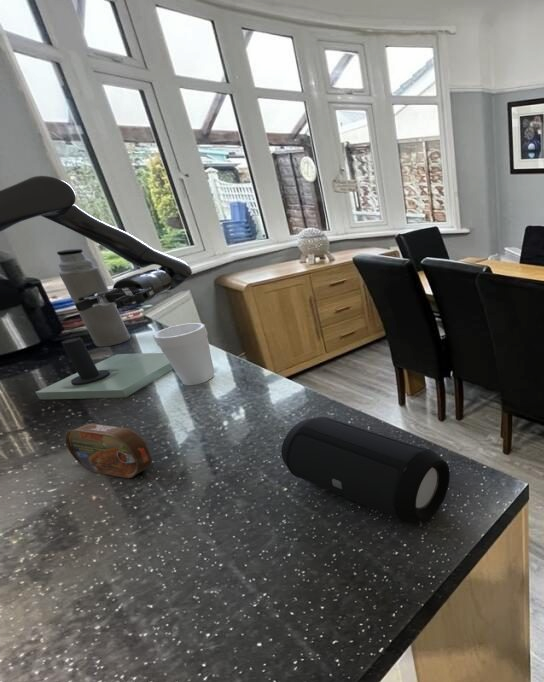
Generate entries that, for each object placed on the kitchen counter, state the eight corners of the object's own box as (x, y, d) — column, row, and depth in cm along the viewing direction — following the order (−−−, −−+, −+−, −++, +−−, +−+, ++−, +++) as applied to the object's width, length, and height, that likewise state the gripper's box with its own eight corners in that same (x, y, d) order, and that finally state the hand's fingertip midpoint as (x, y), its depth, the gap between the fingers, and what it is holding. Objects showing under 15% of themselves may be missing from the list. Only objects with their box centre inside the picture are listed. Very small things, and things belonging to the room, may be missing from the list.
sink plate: (39, 399, 89) (35, 392, 89) (119, 360, 108) (116, 354, 107) (125, 397, 89) (122, 389, 88) (191, 358, 108) (189, 351, 107)
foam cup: (167, 391, 91) (144, 340, 86) (185, 373, 99) (165, 325, 94) (214, 384, 93) (194, 334, 88) (227, 367, 102) (210, 320, 96)
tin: (77, 469, 67) (52, 428, 64) (99, 457, 70) (76, 417, 67) (143, 482, 64) (121, 440, 60) (163, 469, 67) (143, 428, 63)
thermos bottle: (97, 341, 121) (51, 250, 110) (131, 334, 126) (90, 246, 115) (94, 349, 116) (45, 254, 104) (129, 341, 120) (86, 249, 109)
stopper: (67, 392, 92) (41, 346, 87) (95, 379, 98) (71, 335, 93) (95, 392, 92) (70, 345, 87) (121, 378, 98) (99, 334, 93)
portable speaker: (285, 487, 62) (267, 435, 58) (335, 449, 70) (323, 401, 66) (415, 545, 52) (404, 487, 47) (456, 493, 60) (450, 439, 56)
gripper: (105, 277, 110) (56, 294, 95) (162, 273, 112) (124, 288, 98) (116, 302, 113) (72, 322, 98) (172, 298, 115) (137, 316, 101)
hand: (98, 305), depth 98 cm, fingers open, 8 cm apart
